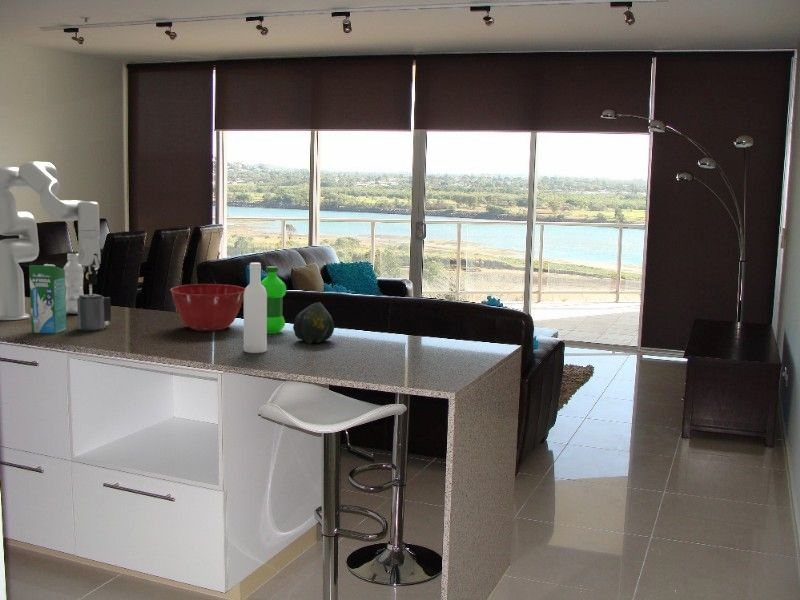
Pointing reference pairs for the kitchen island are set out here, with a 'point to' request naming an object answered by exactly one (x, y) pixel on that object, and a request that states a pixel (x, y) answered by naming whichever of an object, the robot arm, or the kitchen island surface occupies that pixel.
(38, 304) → the milk carton
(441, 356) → the kitchen island surface
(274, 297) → the plastic bottle
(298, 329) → the squash
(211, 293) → the mixing bowl
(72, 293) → the plastic bottle
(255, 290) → the bottle
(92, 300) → the carafe
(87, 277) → the plunger
